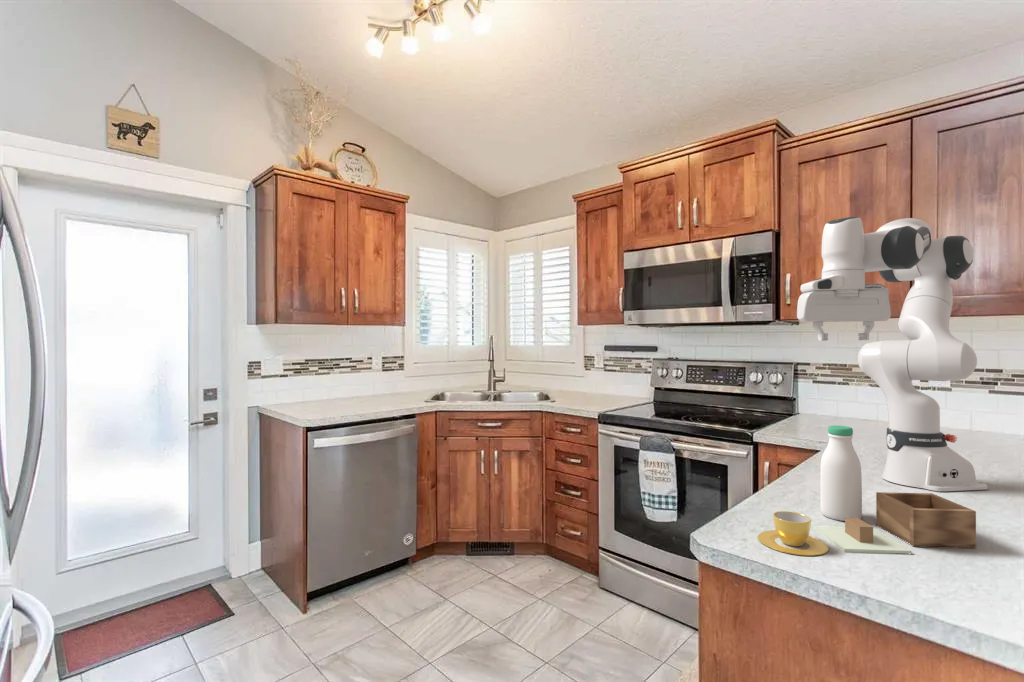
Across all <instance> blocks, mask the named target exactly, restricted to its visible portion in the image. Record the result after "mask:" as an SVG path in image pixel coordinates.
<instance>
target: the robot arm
mask: <svg viewBox="0 0 1024 682" xmlns="http://www.w3.org/2000/svg"><path fill="white" fill-rule="evenodd" d="M864 232H865V231H864V227H863V220H862V218H861V217H858V216H848V217H843V218H839V219H833V220H830V221H827V222H826V223H825V225H824V227H823V230H822V236H821V237H822V238H821V259H822V264H823V266H822V269H821V277H820V278H817V279H814V280H811V281H807V282H806V283H802V284H801V285H800V288H799V290H800V292H801V294H800V295H799V297H798V300H797V306H796V308H797V309H796V318H797V319H798V321H799V322H800V323H812V328H813V329H814V330H815V332H816V333H817V340H818V341H819V342H822V341H828V339H829V337H828V336H829V333H828V332H826V333H825V331H824V329H823V328H822V327H823V326H824V323H826V322H827V323H833V322H835V323H838V322H843V323H844V322H846V323H847V322H849V323H850V322H862V326H863V327H864V328H863V330H862V331H861V332H858V335H857V336H858V340H859V341H869V340H870V333H871V331H872V330H873V329H874V327H875V322H886V321H887V322H888V320H889V319H890V318H891V316H892V312H891V311H892V310H891V304H890V299H889V298H890V297H889V295H890V294H889V293H890V291H889V288H888V287H887V286H886V285H884V284H883V283H880V282H879V283H878V282H877V283H869V282H867V283H866V273H871V272H879V275H880V276H881V278H882V279H883V280H885V281H886V282H887V283H903V282H908V281H911V282H912V281H914V283H913V285H912V286H911V288H910V289H909V291H908V293H907V295H906V297H905V299H904V302H903V305H902V308H901V312H900V314H899V319H898V322H897V327H898V329H899V331H900V333H901V334H902V335H903V336H904V337H906V338H907V339H887V340H886V339H884V340H877V341H873V342H872V341H871V342H867V343H865V344H863V346H862V347H861V348H860V349H859V351H858V353H857V359H856V360H857V365H858V367H859V369H860V370H861V371H862V373H864V375H865V376H867V377H869V378H870V379H872V380H873V382H875V384H877V386H879V388H880V389H881V391H882V393H883V396H884V397H885V400H886V406H887V416H888V427H887V428H886V447H887V452H886V453H887V454H886V461H885V465H884V468H883V472H882V474H881V478H882V479H883V480H885V481H887V482H890V483H894V484H898V485H903V486H906V487H914V488H920V489H925V490H929V491H934V492H957V491H960V492H962V491H963V492H964V491H980V490H981V491H983V490H989V486H988V484H986V483H985V482H983V481H981V480H978V479H977V477H976V471H975V468H974V466H973V464H972V462H971V461H969V460H968V459H966V458H965V457H963V456H962V455H961V454H959V453H957V452H956V451H955V450H954V449H952V448H951V447H949V446H948V443H949V442H950V443H956V442H957V441H958V437H957V436H956V435H954V434H950V433H946V434H945V433H943V432H942V431H941V413H940V412H941V411H940V410H941V409H940V408H941V407H940V405H939V402H938V401H937V400H936V399H934V398H933V397H931V396H930V395H928V394H926V393H924V392H922V391H918V390H917V389H916V388H915V386H914V385H913V381H929V382H931V381H932V382H948V381H949V382H950V381H960V380H966V379H967V378H969V377H970V376H971V375H972V374H973V373H974V371H975V370H976V368H977V364H978V357H977V353H975V351H974V349H973V348H972V347H971V346H970V345H969V344H968V343H966V342H965V341H961V340H960V339H958V338H956V337H955V336H954V335H953V334H952V333H951V332H950V320H951V314H952V311H953V302H954V294H953V288H952V287H953V286H952V285H951V280H952V279H953V280H955V281H956V280H958V279H960V278H961V277H962V274H963V273H965V272H967V270H969V268H970V266H971V265H972V264H973V261H974V257H975V256H974V254H975V251H974V247H973V245H972V244H971V242H970V240H969V239H968V238H967V237H965V236H963V235H947V236H946V237H941V238H933V239H932V234H933V231H932V228H931V226H930V225H929V224H928V223H927V222H926V221H925V220H922V219H918V218H913V217H906V218H898V219H894V220H892V221H890V222H886V223H885V224H883V225H881V226H880V227H879V228H878V229H877V230H876V231H874V232H868V233H864ZM947 442H948V443H947Z"/></svg>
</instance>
